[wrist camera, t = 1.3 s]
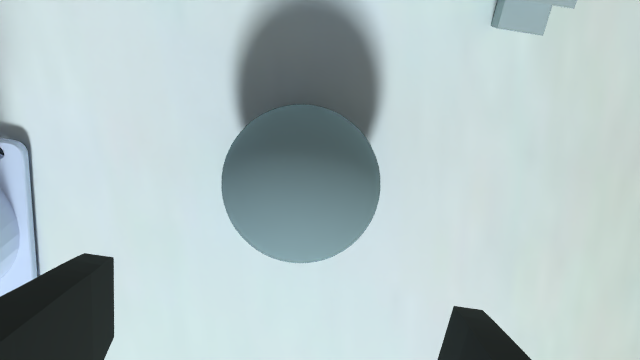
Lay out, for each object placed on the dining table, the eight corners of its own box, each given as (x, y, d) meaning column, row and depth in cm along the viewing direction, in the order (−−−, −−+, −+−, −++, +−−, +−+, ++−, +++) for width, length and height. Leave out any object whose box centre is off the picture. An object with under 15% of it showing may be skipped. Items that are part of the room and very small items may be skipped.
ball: (231, 208, 21) (199, 282, 16) (243, 78, 19) (210, 116, 14) (361, 227, 21) (369, 306, 16) (386, 100, 19) (405, 146, 14)
